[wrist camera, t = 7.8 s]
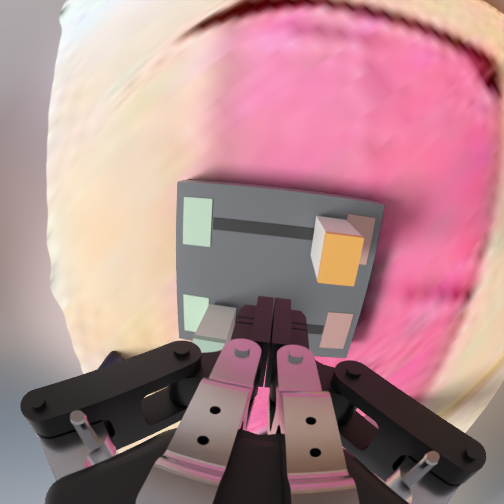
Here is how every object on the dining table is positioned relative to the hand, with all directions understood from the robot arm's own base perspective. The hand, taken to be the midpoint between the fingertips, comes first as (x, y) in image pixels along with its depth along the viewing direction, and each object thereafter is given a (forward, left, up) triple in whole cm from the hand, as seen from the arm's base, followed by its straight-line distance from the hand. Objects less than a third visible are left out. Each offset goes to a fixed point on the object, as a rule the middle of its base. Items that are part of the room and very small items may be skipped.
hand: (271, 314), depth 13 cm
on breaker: (+5, +11, -15) cm, 19 cm away
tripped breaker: (-5, 0, -15) cm, 16 cm away
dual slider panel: (0, +5, -19) cm, 20 cm away
